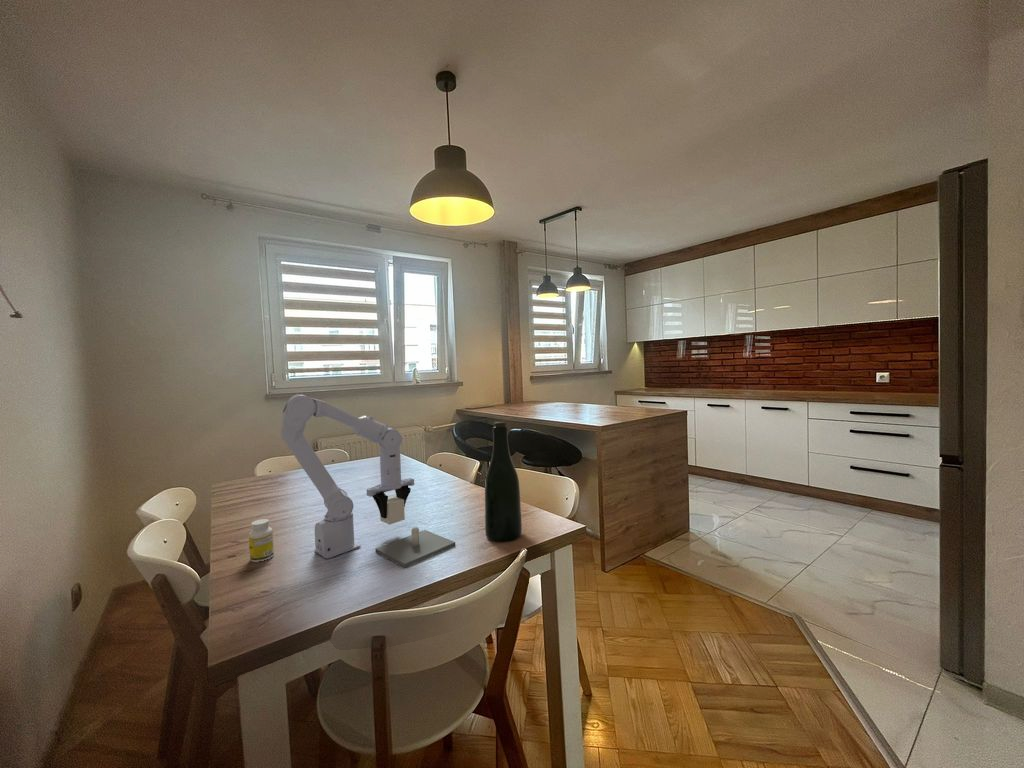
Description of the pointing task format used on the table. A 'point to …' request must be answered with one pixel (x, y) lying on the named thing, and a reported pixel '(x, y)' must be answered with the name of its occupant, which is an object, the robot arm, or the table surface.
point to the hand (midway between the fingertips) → (392, 514)
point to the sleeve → (394, 510)
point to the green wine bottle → (502, 491)
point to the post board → (414, 547)
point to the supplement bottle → (261, 541)
